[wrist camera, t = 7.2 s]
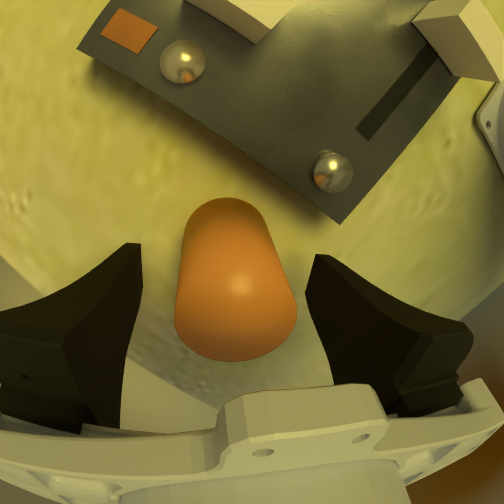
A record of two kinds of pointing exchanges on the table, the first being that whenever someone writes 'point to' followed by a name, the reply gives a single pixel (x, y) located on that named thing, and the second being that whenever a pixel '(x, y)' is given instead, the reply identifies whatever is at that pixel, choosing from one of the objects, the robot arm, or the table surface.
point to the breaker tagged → (247, 14)
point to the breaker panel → (289, 84)
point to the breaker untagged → (464, 38)
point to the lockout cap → (231, 285)
